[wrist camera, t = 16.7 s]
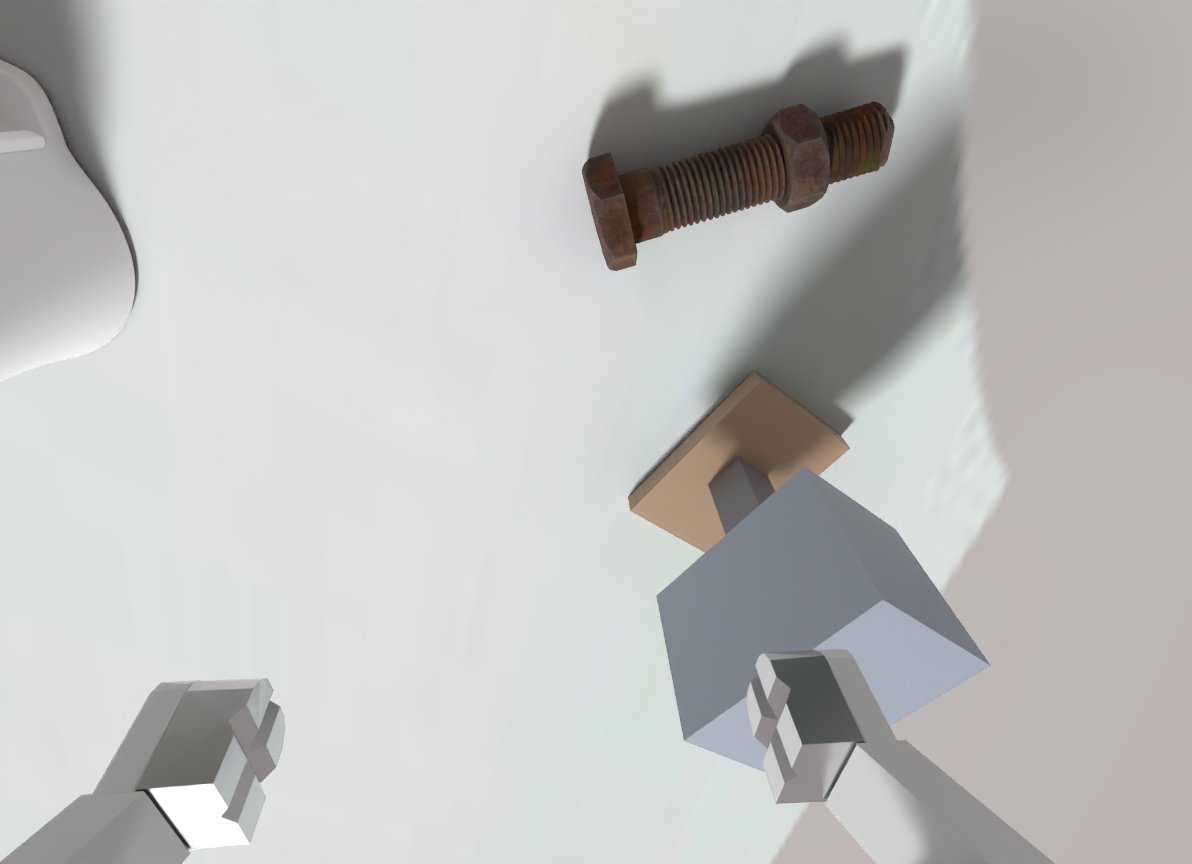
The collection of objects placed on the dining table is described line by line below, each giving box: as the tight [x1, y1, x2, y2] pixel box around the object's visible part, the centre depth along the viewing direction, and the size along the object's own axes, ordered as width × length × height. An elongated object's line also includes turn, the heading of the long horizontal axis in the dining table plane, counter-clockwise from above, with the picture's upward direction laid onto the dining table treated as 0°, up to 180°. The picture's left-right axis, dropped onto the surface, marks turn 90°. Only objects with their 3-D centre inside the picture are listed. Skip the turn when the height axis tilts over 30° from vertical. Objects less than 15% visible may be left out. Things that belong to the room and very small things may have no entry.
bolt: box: [582, 102, 895, 271], centre depth 31 cm, size 6×5×15 cm
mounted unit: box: [628, 370, 990, 772], centre depth 36 cm, size 10×13×18 cm
